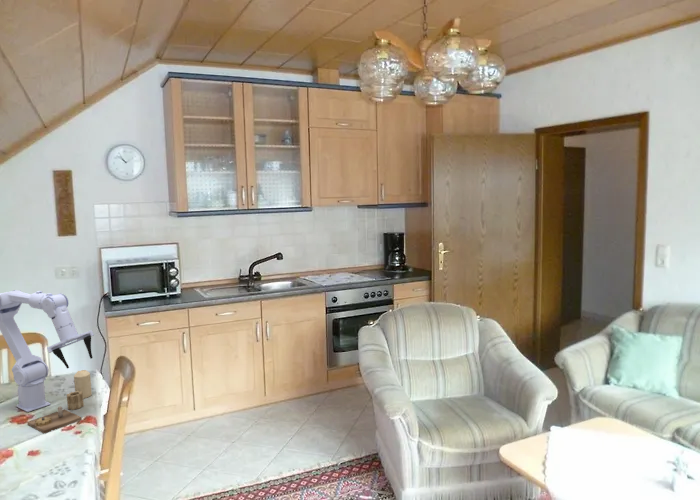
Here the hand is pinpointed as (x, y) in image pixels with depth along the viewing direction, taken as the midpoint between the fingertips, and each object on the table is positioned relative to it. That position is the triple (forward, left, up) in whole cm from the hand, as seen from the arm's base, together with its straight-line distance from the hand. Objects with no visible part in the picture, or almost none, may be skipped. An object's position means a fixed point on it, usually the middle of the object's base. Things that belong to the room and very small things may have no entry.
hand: (80, 363), depth 175 cm
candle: (-18, +9, -19) cm, 27 cm away
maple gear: (-10, +2, -19) cm, 21 cm away
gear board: (-3, -9, -19) cm, 21 cm away
